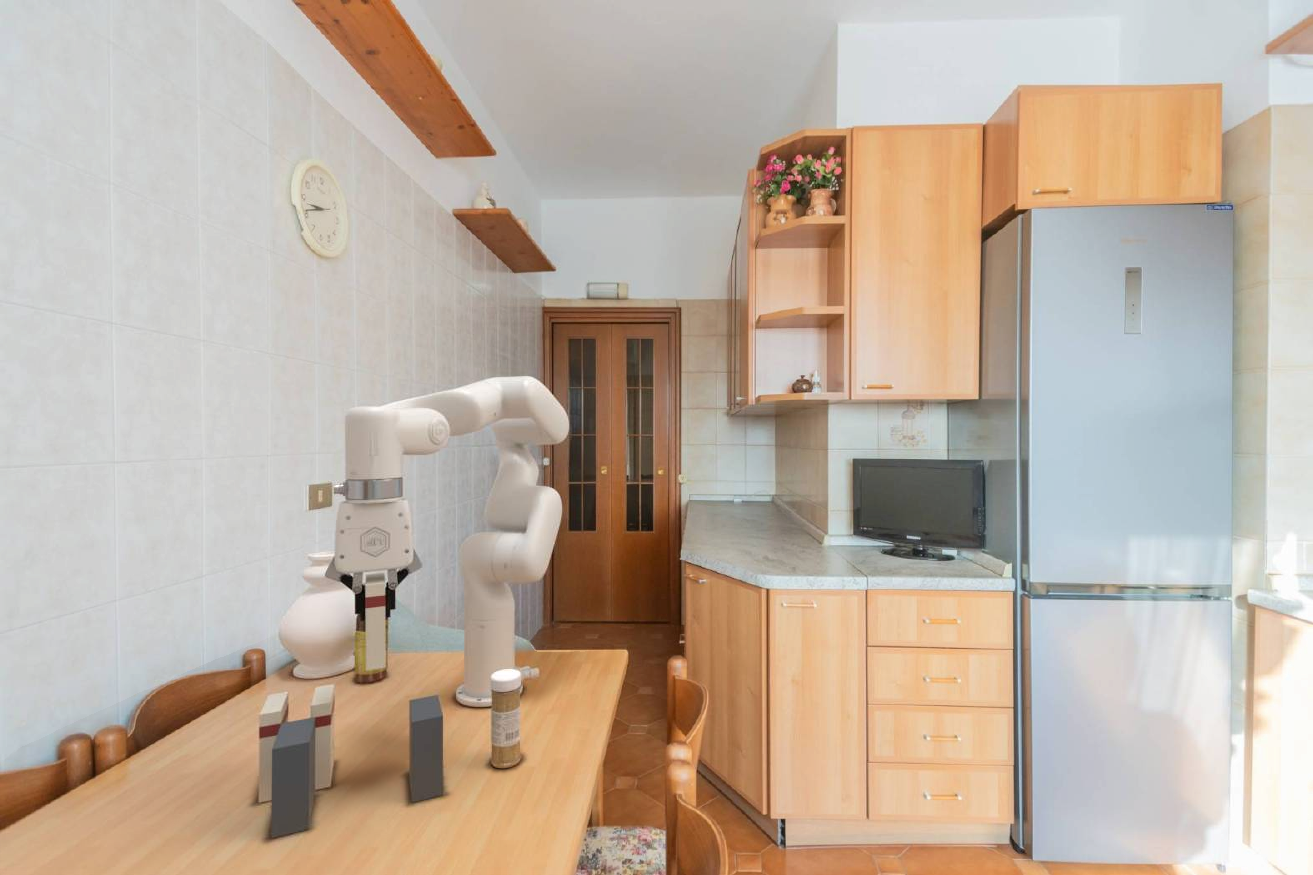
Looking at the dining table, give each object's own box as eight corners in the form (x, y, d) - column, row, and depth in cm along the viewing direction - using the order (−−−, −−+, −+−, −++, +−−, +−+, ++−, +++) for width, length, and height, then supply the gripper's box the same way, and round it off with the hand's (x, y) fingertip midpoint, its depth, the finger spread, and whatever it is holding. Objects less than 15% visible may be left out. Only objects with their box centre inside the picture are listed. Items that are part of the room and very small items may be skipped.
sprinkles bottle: (517, 750, 90) (517, 665, 91) (523, 765, 86) (524, 676, 87) (487, 757, 88) (488, 670, 89) (493, 772, 84) (493, 681, 85)
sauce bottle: (378, 684, 116) (378, 586, 117) (348, 684, 116) (348, 586, 117) (393, 671, 123) (394, 579, 123) (365, 671, 123) (365, 579, 123)
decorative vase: (290, 658, 131) (291, 549, 131) (375, 648, 137) (376, 544, 137) (267, 689, 114) (268, 564, 115) (366, 676, 120) (367, 557, 121)
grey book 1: (314, 796, 79) (315, 716, 79) (308, 829, 72) (309, 741, 72) (280, 804, 77) (281, 722, 77) (271, 838, 70) (271, 749, 70)
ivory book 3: (384, 651, 87) (384, 572, 87) (385, 667, 80) (385, 582, 81) (366, 654, 86) (365, 574, 86) (365, 670, 79) (365, 585, 79)
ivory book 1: (288, 772, 85) (288, 691, 85) (280, 798, 78) (281, 710, 79) (267, 776, 84) (268, 694, 84) (258, 803, 77) (259, 714, 78)
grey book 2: (438, 767, 86) (438, 694, 86) (443, 795, 79) (443, 715, 79) (409, 774, 84) (409, 699, 84) (411, 803, 77) (411, 721, 77)
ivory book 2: (334, 762, 87) (334, 683, 88) (330, 786, 81) (331, 701, 81) (315, 766, 86) (315, 686, 86) (309, 791, 80) (310, 705, 80)
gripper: (307, 496, 76) (308, 633, 76) (436, 490, 83) (437, 615, 83) (312, 491, 83) (313, 617, 83) (431, 486, 90) (432, 602, 90)
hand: (375, 615), depth 83 cm, fingers closed on ivory book 3, 2 cm apart
